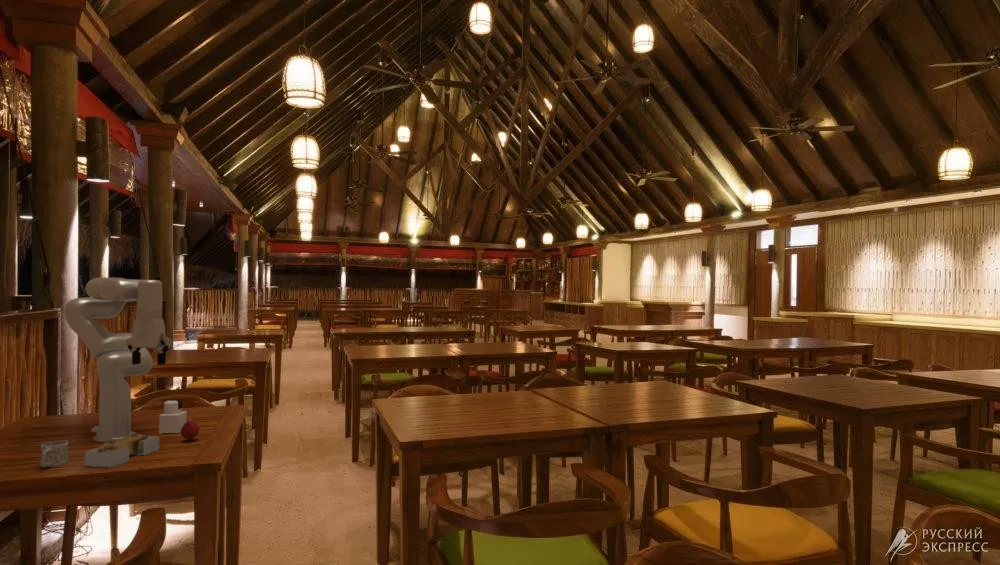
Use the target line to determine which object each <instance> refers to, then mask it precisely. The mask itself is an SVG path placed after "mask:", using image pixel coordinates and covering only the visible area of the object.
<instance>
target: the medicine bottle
mask: <svg viewBox="0 0 1000 565" xmlns="http://www.w3.org/2000/svg"><path fill="white" fill-rule="evenodd" d="M187 416H188V413H187V410H183V401H182V400H181V399H169V400H168V399H167V400H166V401H164V403H163V413H160V414H158V434H159V435H162V433H178V434H181V428H182V426H183V425H184V424H185V423H186V422H187V421H188V419H187V418H188V417H187Z"/></svg>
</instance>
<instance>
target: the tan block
mask: <svg viewBox="0 0 1000 565" xmlns="http://www.w3.org/2000/svg"><path fill="white" fill-rule="evenodd" d="M142 435H143V434H138V433H137V432H135V433H133V434H131V435H129V436H126V437H123V438H120V439H116V440H110V441H109V442H103V444H102V446H103V448H106V450H115V449H118V448H120V447H123V446H124V447H129V454H132V453H134V452H137V451H138V441H141V440H142Z"/></svg>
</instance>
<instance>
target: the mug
mask: <svg viewBox="0 0 1000 565" xmlns="http://www.w3.org/2000/svg"><path fill="white" fill-rule="evenodd" d="M68 462H69V440H63V439H62V440H61V439H60V440H52V441H47V442H43V443H41V444H40V466H41V467H44V468H43V469H48V467H52V468H57V466H58V467H62V466H65V465H67V464H69V463H68ZM64 464H65V465H64ZM61 465H62V466H61ZM41 467H40V468H41ZM45 467H47V468H45Z"/></svg>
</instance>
